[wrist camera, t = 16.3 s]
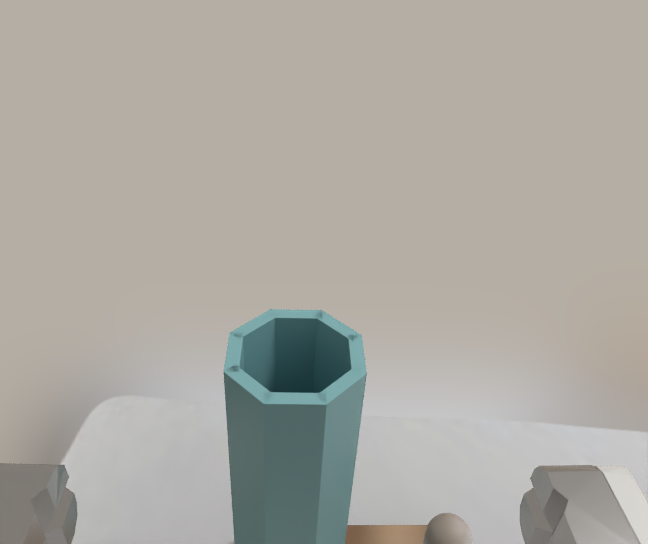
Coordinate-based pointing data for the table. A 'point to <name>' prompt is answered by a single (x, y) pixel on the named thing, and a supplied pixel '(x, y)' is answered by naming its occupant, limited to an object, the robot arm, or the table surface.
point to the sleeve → (293, 426)
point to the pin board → (413, 532)
